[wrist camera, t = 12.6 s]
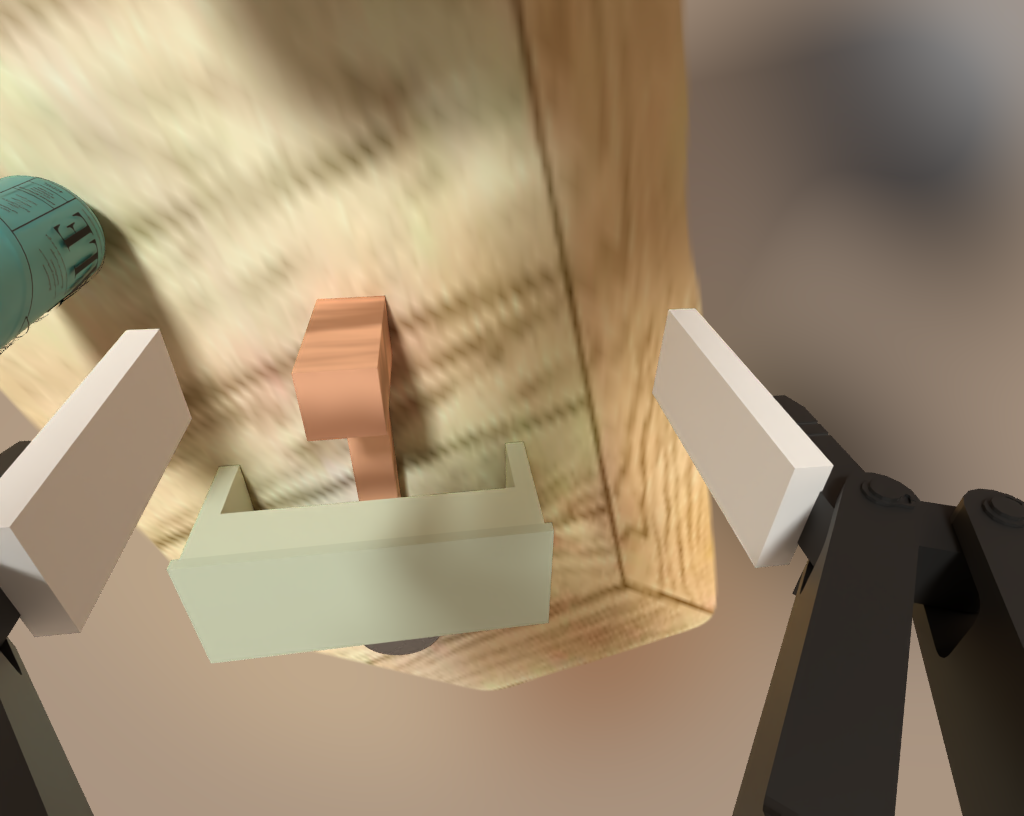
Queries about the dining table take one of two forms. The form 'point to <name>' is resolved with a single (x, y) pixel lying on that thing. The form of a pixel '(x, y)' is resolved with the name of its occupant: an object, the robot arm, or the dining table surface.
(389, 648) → the puck
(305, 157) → the dining table surface
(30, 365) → the dining table surface
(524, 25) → the dining table surface
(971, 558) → the robot arm
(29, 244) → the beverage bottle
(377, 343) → the paddle
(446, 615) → the shelf
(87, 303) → the dining table surface
